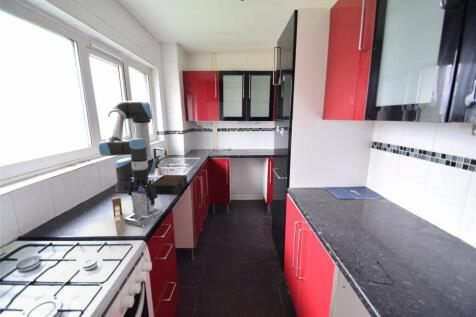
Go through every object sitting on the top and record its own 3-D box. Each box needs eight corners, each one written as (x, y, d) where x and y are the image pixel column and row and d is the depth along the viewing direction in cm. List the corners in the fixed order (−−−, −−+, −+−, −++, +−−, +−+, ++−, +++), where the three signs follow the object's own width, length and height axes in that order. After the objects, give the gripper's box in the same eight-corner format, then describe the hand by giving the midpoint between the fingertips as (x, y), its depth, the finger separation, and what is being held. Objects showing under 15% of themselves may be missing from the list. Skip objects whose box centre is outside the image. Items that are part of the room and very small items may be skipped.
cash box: (178, 195, 142) (178, 184, 140) (150, 194, 142) (149, 184, 141) (188, 183, 166) (188, 174, 165) (164, 183, 167) (163, 174, 165)
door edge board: (114, 214, 112) (112, 197, 110) (122, 213, 114) (120, 196, 112) (114, 235, 93) (112, 215, 91) (124, 232, 95) (122, 213, 93)
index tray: (146, 210, 117) (146, 206, 117) (162, 213, 114) (162, 209, 113) (125, 223, 103) (124, 218, 103) (142, 226, 100) (141, 222, 100)
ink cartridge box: (155, 212, 109) (153, 186, 106) (147, 217, 104) (145, 190, 101) (141, 209, 112) (138, 184, 109) (132, 213, 107) (130, 187, 104)
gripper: (117, 168, 103) (121, 209, 108) (153, 172, 96) (156, 215, 101) (129, 165, 110) (132, 203, 115) (163, 168, 103) (166, 209, 108)
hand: (143, 209), depth 108 cm, fingers closed on ink cartridge box, 10 cm apart
